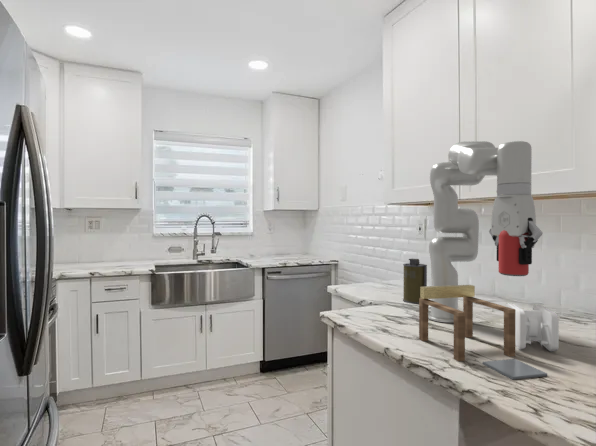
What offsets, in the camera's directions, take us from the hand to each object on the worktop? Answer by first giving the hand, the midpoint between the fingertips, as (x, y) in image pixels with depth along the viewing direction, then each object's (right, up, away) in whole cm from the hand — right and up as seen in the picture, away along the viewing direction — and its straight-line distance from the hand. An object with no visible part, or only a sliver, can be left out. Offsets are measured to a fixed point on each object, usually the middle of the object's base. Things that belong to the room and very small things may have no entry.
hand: (513, 262), depth 94 cm
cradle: (-5, -27, +17) cm, 32 cm away
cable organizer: (+16, -27, +19) cm, 37 cm away
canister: (+1, -27, +82) cm, 87 cm away
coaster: (0, -27, 0) cm, 27 cm away
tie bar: (-7, -14, +25) cm, 29 cm away
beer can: (0, -3, 0) cm, 3 cm away
